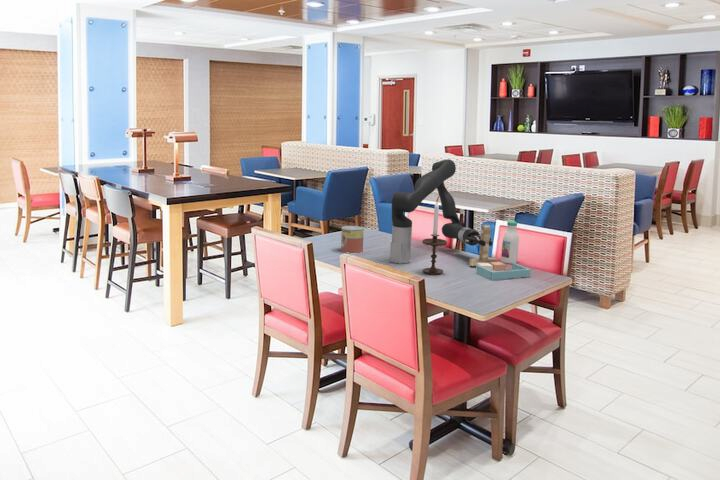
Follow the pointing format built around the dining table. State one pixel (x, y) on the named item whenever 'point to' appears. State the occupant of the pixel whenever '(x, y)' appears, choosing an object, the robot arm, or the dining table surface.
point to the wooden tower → (483, 248)
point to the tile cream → (486, 266)
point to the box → (505, 272)
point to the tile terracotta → (498, 265)
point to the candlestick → (434, 244)
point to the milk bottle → (510, 244)
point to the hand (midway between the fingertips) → (488, 243)
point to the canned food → (352, 239)
